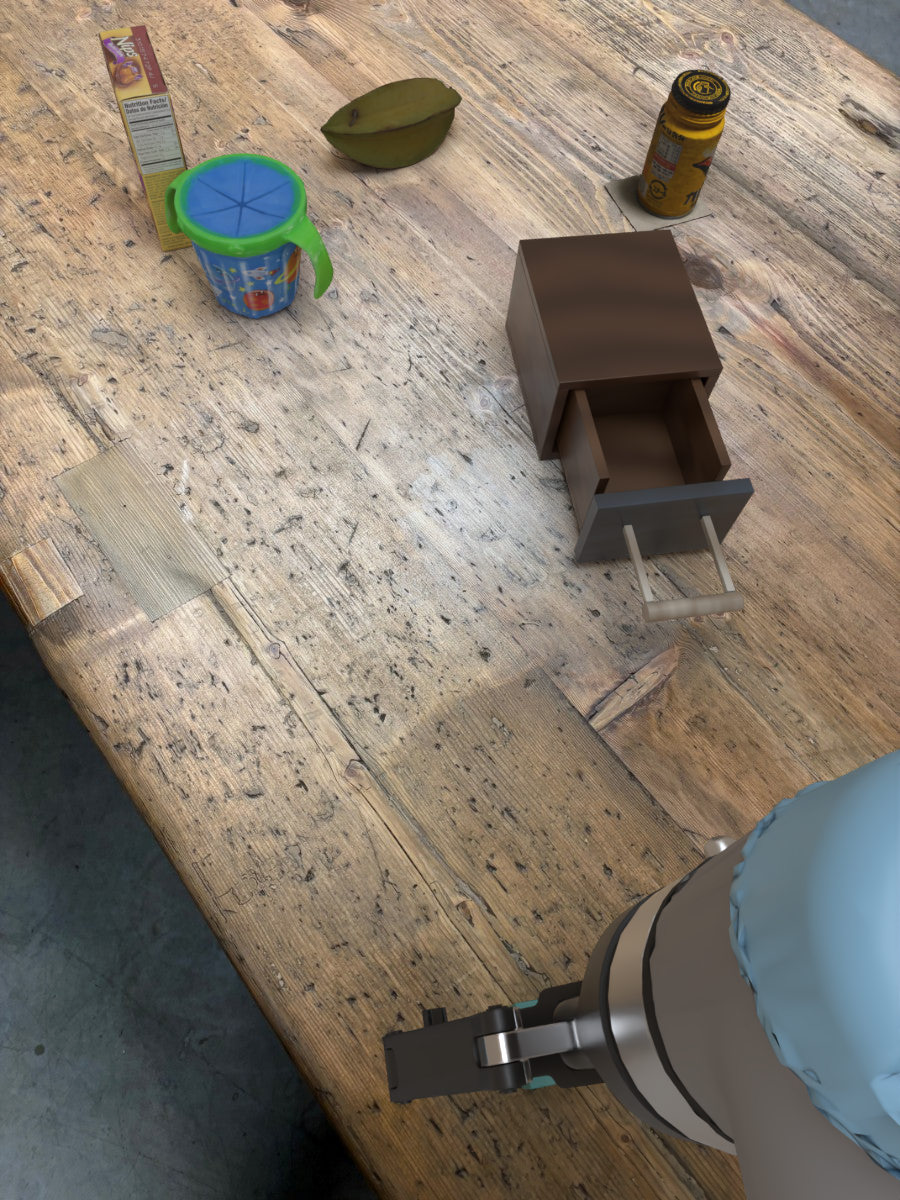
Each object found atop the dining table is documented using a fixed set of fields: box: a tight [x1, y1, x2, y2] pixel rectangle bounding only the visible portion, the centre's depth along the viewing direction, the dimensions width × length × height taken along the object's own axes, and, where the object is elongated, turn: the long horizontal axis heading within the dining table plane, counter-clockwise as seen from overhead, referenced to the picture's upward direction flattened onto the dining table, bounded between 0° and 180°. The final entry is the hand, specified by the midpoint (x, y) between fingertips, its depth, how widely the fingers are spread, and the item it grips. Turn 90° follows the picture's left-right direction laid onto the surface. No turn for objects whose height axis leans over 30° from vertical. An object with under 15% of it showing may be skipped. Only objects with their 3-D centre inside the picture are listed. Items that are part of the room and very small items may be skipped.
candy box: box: [97, 24, 193, 252], centre depth 80 cm, size 9×4×15 cm, turn 20°
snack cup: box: [165, 152, 335, 320], centre depth 79 cm, size 16×10×10 cm
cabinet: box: [505, 228, 724, 462], centre depth 77 cm, size 15×13×10 cm
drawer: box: [556, 377, 755, 624], centre depth 70 cm, size 21×12×8 cm, turn 10°
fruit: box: [319, 77, 463, 170], centre depth 90 cm, size 11×12×7 cm
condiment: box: [603, 68, 732, 232], centre depth 87 cm, size 7×8×12 cm
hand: (587, 1030), depth 46 cm, fingers open, 13 cm apart
